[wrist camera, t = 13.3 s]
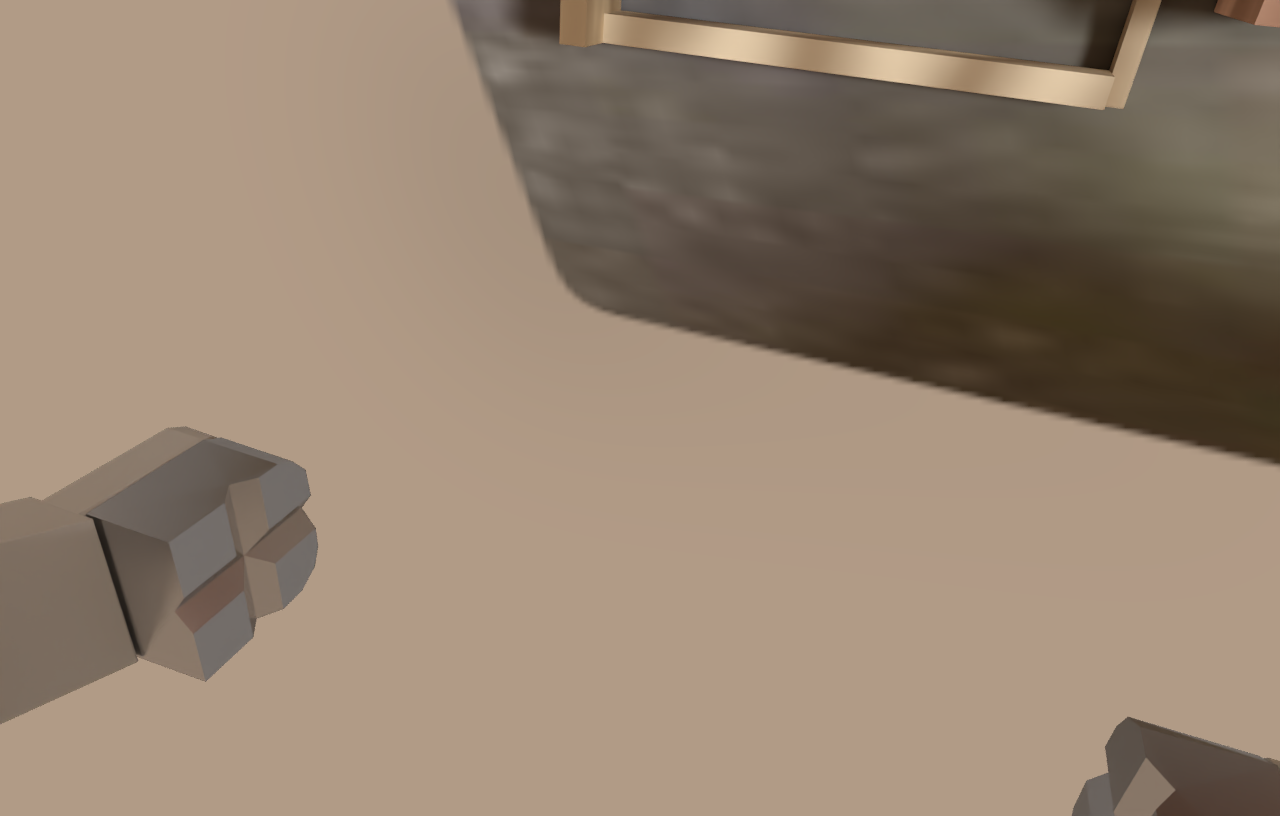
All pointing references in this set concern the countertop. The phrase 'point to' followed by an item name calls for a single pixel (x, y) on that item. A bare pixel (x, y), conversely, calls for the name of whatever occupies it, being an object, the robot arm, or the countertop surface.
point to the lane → (890, 52)
